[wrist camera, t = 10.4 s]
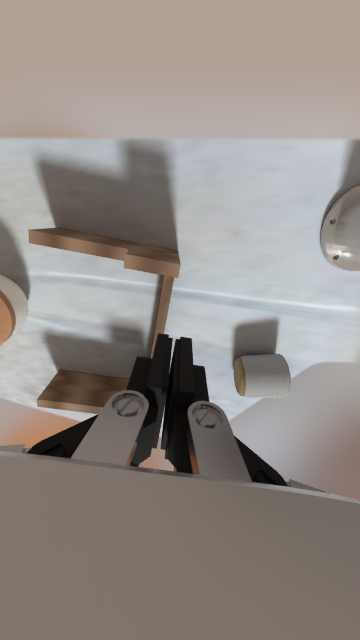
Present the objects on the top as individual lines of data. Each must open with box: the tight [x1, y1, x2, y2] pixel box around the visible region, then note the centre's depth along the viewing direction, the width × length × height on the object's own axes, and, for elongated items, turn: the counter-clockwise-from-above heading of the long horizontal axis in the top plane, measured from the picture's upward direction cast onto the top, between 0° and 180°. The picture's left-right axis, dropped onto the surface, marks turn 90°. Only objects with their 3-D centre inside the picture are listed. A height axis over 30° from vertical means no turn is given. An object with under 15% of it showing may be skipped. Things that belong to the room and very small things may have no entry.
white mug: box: [234, 354, 291, 398], centre depth 43 cm, size 11×8×8 cm
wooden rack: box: [29, 228, 180, 414], centre depth 35 cm, size 18×27×12 cm, turn 169°
